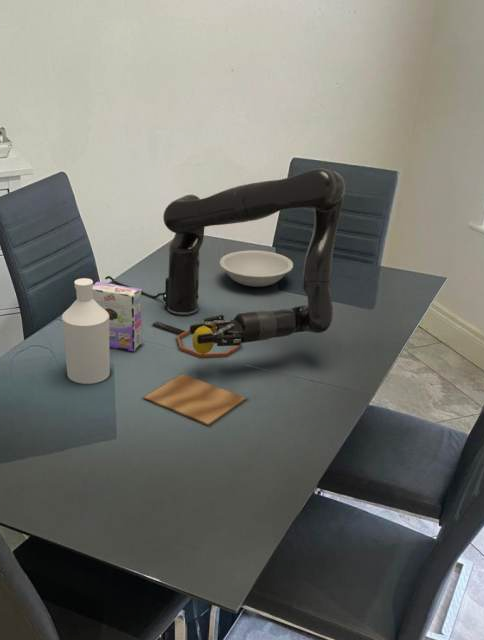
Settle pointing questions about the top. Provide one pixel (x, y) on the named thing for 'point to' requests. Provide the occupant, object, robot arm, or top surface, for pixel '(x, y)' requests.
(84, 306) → the bottle
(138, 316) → the candy box
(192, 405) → the wooden cutting board
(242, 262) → the soup bowl
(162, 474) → the top surface
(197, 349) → the lemon
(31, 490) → the top surface
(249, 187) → the robot arm
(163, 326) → the magnifying glass
